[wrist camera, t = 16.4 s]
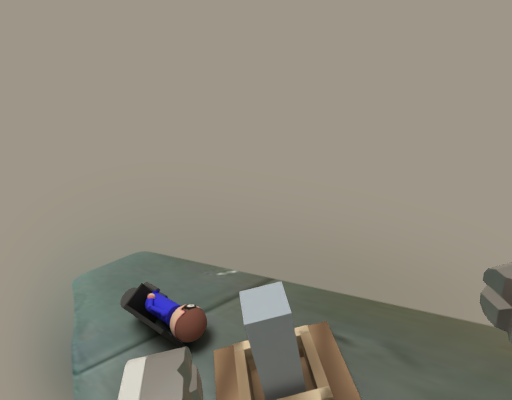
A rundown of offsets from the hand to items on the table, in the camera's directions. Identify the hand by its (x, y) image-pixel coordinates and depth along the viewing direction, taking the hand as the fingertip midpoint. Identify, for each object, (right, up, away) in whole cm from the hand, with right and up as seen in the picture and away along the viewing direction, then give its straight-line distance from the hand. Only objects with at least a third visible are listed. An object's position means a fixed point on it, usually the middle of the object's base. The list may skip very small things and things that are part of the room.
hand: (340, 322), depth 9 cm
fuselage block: (+1, -19, +31) cm, 36 cm away
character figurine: (-15, -17, +44) cm, 50 cm away
